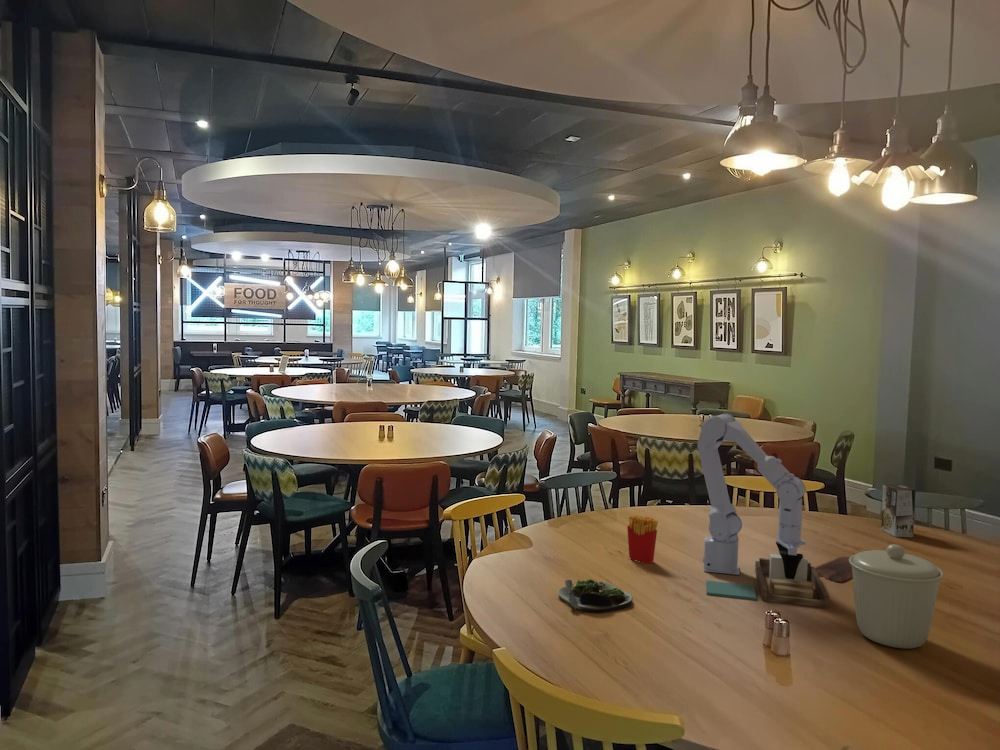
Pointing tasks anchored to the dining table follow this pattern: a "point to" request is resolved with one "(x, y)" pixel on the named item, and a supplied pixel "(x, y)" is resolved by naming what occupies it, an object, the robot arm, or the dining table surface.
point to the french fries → (642, 538)
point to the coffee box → (898, 510)
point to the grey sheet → (778, 569)
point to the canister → (894, 596)
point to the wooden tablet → (836, 570)
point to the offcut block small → (793, 592)
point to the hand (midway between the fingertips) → (787, 573)
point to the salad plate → (594, 596)
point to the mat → (730, 590)
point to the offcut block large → (790, 584)
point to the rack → (763, 568)
